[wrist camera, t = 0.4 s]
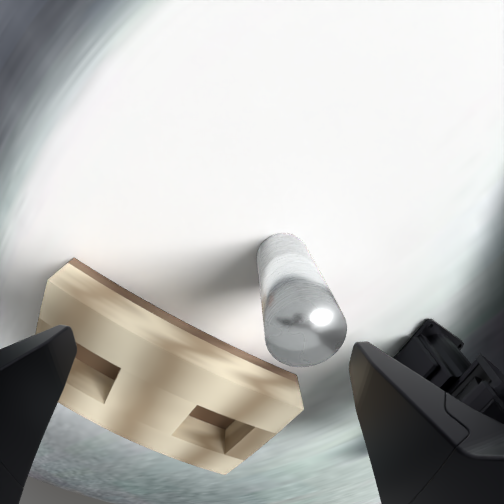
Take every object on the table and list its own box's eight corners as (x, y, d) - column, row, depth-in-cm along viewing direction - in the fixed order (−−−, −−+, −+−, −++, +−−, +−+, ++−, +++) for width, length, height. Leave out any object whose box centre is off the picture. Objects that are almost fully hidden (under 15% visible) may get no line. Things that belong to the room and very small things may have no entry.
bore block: (296, 375, 25) (303, 409, 21) (226, 444, 28) (225, 475, 25) (74, 257, 21) (47, 279, 17) (46, 356, 24) (28, 382, 20)
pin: (318, 250, 21) (362, 321, 13) (289, 290, 22) (313, 376, 14) (275, 223, 20) (297, 284, 12) (246, 266, 21) (249, 347, 13)
